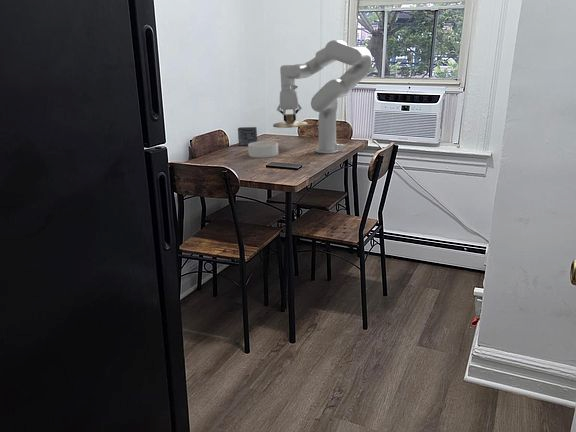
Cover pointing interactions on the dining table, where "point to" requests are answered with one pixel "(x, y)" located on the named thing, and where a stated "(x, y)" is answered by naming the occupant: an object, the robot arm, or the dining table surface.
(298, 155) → the dining table surface
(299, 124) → the lid
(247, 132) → the small box
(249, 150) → the bowl
